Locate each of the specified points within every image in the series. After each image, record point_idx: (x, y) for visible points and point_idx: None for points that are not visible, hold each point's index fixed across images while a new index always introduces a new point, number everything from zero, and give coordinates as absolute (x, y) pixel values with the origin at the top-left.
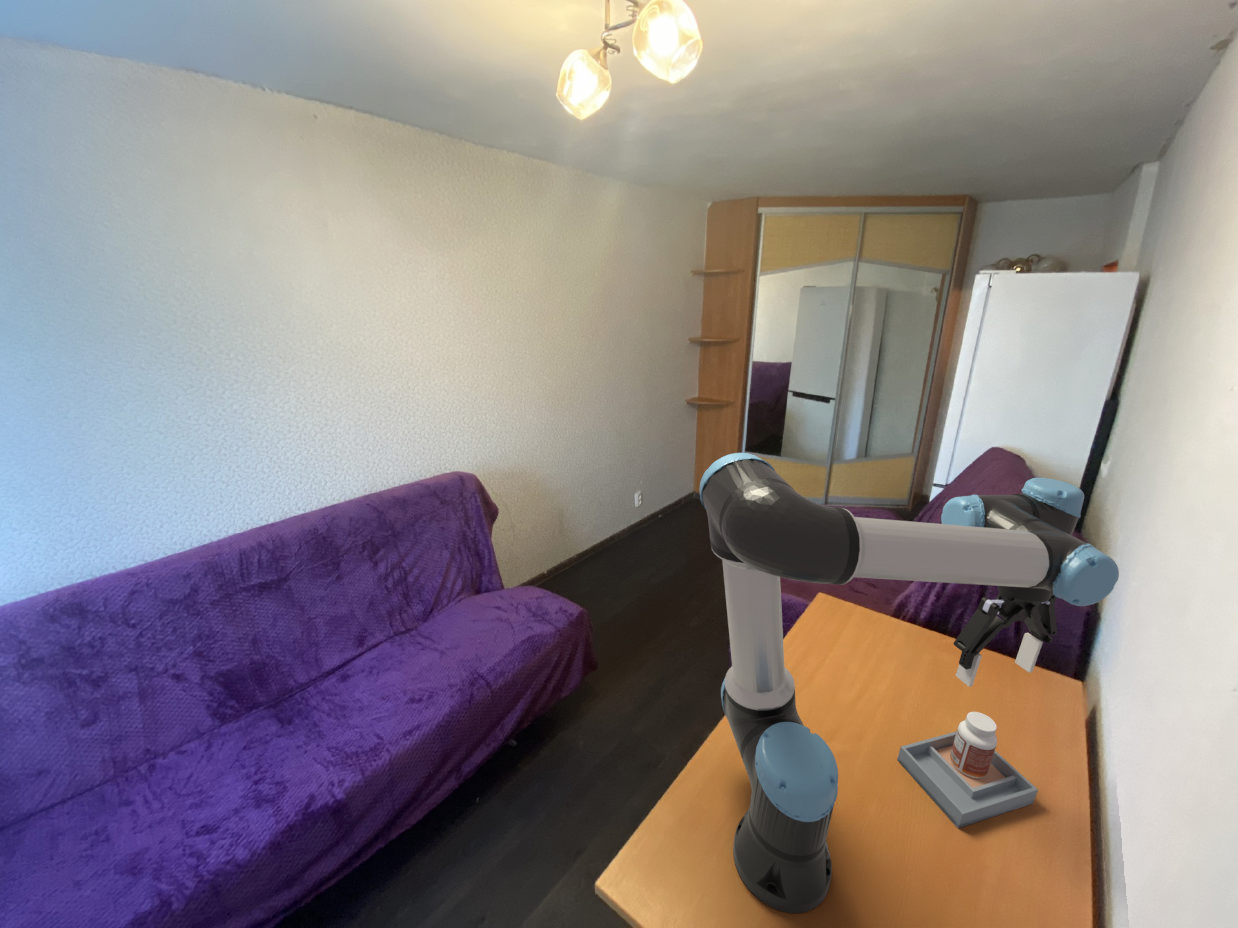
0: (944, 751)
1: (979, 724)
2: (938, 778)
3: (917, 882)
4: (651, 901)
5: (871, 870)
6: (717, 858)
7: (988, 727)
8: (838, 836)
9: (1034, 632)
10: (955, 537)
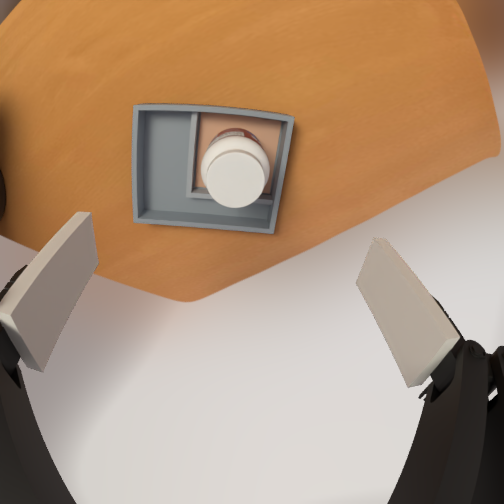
0: (223, 120)
1: (221, 185)
2: (170, 152)
3: None
4: None
5: (33, 216)
6: None
7: (231, 198)
8: (21, 179)
9: (454, 372)
10: None
